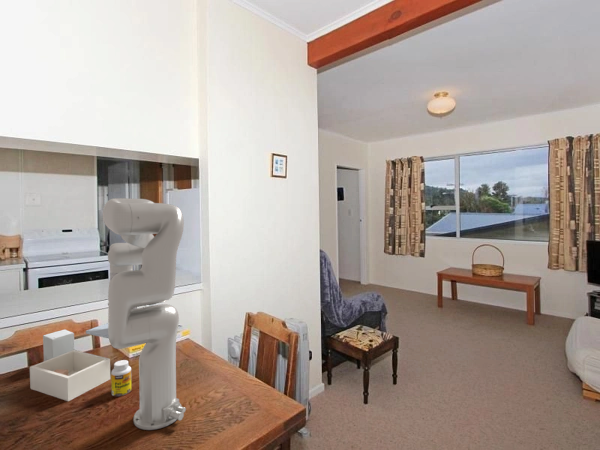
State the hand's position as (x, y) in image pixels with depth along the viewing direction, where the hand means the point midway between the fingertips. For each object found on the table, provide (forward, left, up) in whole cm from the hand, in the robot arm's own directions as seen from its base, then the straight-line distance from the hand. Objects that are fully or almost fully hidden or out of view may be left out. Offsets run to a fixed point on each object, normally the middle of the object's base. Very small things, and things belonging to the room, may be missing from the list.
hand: (122, 324), depth 125 cm
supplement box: (+19, +11, -15) cm, 27 cm away
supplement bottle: (-17, +15, -15) cm, 28 cm away
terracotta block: (+5, +20, -14) cm, 25 cm away
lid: (0, 0, -2) cm, 2 cm away
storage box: (+2, +18, -15) cm, 24 cm away
